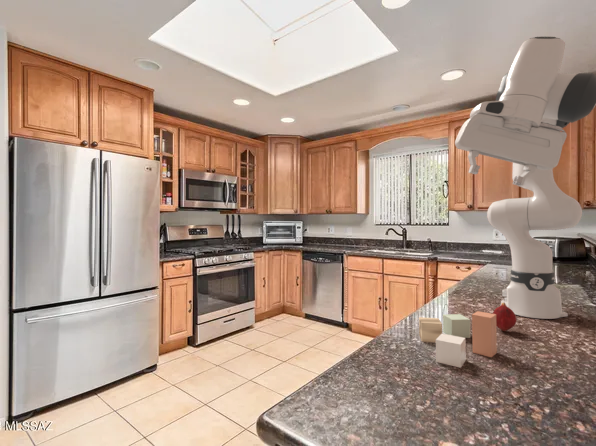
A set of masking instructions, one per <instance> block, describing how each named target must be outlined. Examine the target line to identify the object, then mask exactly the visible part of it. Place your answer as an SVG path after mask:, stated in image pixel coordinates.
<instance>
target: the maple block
mask: <svg viewBox="0 0 596 446" xmlns="http://www.w3.org/2000/svg"><path fill="white" fill-rule="evenodd" d="M441 334H443V322H442V321H441V320H440V318H439V317H422V316H420V317H418V335H419V338H420V341H421V342H423V343H435V344H436V339H437V338H438V337H439V336H440V335H441Z"/></svg>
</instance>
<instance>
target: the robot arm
mask: <svg viewBox="0 0 596 446" xmlns="http://www.w3.org/2000/svg"><path fill="white" fill-rule="evenodd" d="M565 49H566V41H564V39H561V38H560V37H555V36H534V37H530V38H528V39H526V40H524V41H523V42H522V44H521V45H520V47H519V49H518V51H517V53H516V55H515V56H514V58H513V61H512V62H511V63H512V64H511V66H510V67H509V68H510V69H509V71H508V72H507V73H505V74H504V75H503V76H502V79H501V82H500V84H499V85H500V86H499V88H498V90H497V94H496V97H495V100H491V101H489V100H488V101H483V102H481V103H479V104H477V105H476V106H475V107H473V109H472V110H471V111H470V114H469V118H468V119H467V120H465V121H464V123H463V124H462V126H461V127H460V129H459V131H458V134H457V136H456V139H455V141H454V145H455V147H456V149H458V150H461V151H465V152H468V155H467V158H468V163H469V165H470V166H469V169H468V174H472V175H477V174H479V170H480V168H481V165H478V164H477V159H476V158H477V157H479V155H481V156H485V157H489V158H494V159H498V160H500V161H501V160H502V161H505V162H509V163H512V172H511V174H512V177H511V178H512V185H514V186H517V187H520V188H523V189H525V190H529V191H531V192H533V196H530V197H519V198H518V197H517V198H516V197H515V198H505V199H502V200H501V199H500V200H496V201H493V202H492V203H491V204H490V205H489V207H488V209H487V211H486V217H487V221H488V223H489V224H490V225H491V227H493V228H494V229H495V230H497V231H499V232H500V234H502V235H503V236H504V238H505V239H506V241H507V242H508V243H507V244H508V245H509V248H510V254H511V270H510V273H509V276H510V277H509V278H510V282H509V284H508V285H507V287H506V288H504V289H502V290H501V293H502V294H501V295H502V297H504V298H503V299H501V301H500V306H501V304H502V303H505V304H506V306H507V307H509V308H510V309H511V310H512V311H513V312H514V314H515V316H516V315H517V316H521V317H524V318H525V317H526V318H532V319H543V320H545V319H546V320H548V319H549V320H552V319H559V318H563V317H565V318H567V317H569V315H568V312H567V311H564V310H563V307H562V297H561V296H562V294H561V290H560V288H557V287H556V286H555V283H556V281H555V280H556V276H555V272H553V271H554V270H553V266H554V263H553V250H552V248H551V247H550V246H549V245H548V244H546V243H545V242H543V241H540V240H538V239H535V238H534V237H532V236H531V233H530V231H541V230H542V231H557V230H565V229H571V228H575V226H577V225H578V224H579V223H580V221H581V220H582V216H583V209H582V206H581V204H580V202H578V200H576V199H575V198H574V197H573V196H570V195H568V194H566V193H565V192H564V191H562V189H561V188H560V187H559V186H558V184H557V183H556V181H555V178H554V172H553V171H554V168H556V167H557V166H558V164H559V161H560V159H561V156H562V155H561V154H562V150H563V146H564V144H565V142H566V139H567V137H568V135H567V132H566V131H565V129H564V128H566V127H567V126H568V125H570V123H571V124H572V123H575V122H577V121H579V120H581V119H584V118H586V117H587V116H589V115H590V114H591V112H592V111H593V110H594V109H595V107H596V74H595V73H594V72H584V73H583V72H581V73H574V72H573V73H572V72H571V73H570V72H560V71H561V67H562V63H563V58H564V54H565Z"/></svg>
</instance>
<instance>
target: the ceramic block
mask: <svg viewBox="0 0 596 446" xmlns="http://www.w3.org/2000/svg"><path fill="white" fill-rule="evenodd" d="M466 343H467V342H466V338H463V337H458V336H453V335H447V334H445V333H442V334H441V335H440V336H439V337H438V338H437V339H436V343H435V362H436V363H439V364H443V365H448V366H451V367H452V366H453V367H457V368H460V369H461V368H462V367H463V365H464V364H465V362H466V360H467V356H466V353H467V352H466V351H467V350H466V347H467V346H466V345H467V344H466Z"/></svg>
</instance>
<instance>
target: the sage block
mask: <svg viewBox="0 0 596 446" xmlns="http://www.w3.org/2000/svg"><path fill="white" fill-rule="evenodd" d="M442 333H443V334H447V335H453V336H458V337H463V338H465V339H471V319H470V318H468V317H466V316H465V315H463V314H461V313H457V314H451V313H450V314H442Z"/></svg>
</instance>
